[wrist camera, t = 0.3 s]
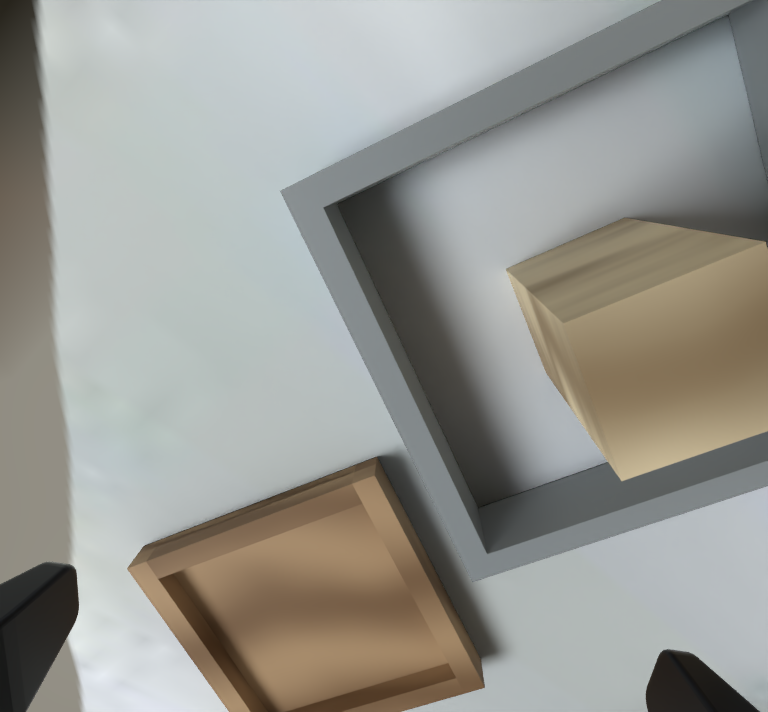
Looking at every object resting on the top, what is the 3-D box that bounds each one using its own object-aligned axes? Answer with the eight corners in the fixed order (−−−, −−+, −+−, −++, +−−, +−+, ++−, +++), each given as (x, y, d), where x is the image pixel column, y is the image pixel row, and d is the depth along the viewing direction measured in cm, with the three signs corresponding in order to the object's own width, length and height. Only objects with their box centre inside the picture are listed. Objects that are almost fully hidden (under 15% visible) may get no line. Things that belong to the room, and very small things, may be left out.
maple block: (659, 328, 20) (808, 417, 13) (546, 372, 21) (621, 481, 13) (624, 217, 19) (765, 241, 11) (505, 269, 20) (563, 323, 12)
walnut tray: (480, 659, 26) (484, 687, 24) (266, 723, 28) (258, 752, 26) (376, 456, 22) (374, 475, 21) (143, 546, 25) (127, 568, 23)
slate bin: (848, 401, 21) (918, 436, 18) (465, 533, 23) (472, 582, 21) (753, -36, 16) (824, -82, 14) (299, 189, 19) (280, 191, 16)
